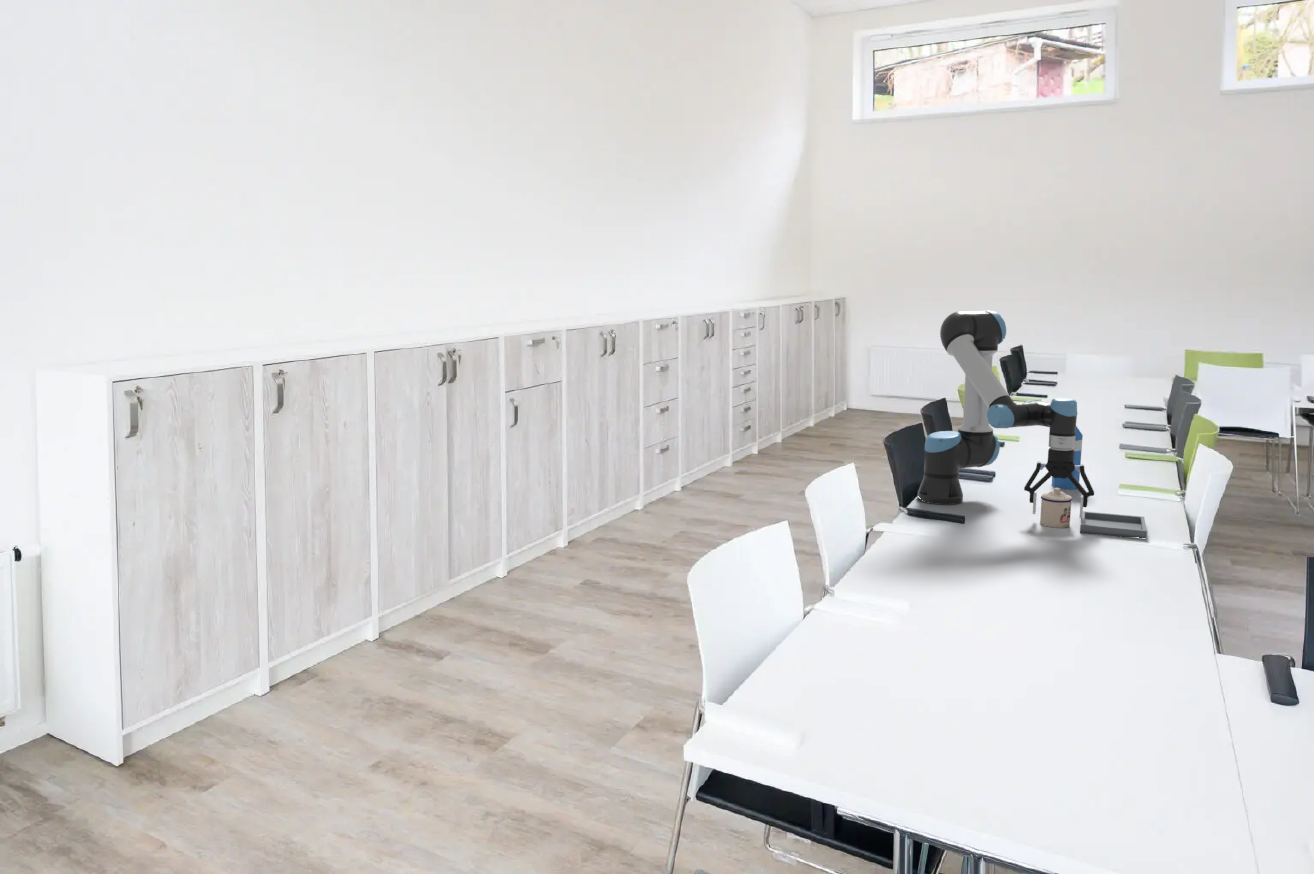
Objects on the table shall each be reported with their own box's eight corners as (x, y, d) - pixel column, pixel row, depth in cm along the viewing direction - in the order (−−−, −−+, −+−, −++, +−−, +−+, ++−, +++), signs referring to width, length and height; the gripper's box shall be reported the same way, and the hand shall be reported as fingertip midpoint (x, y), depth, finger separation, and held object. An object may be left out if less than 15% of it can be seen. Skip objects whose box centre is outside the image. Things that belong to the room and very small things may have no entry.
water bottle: (1081, 485, 360) (1085, 418, 355) (1076, 490, 352) (1081, 421, 348) (1054, 482, 365) (1058, 416, 360) (1049, 487, 357) (1053, 419, 352)
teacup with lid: (1065, 530, 300) (1067, 493, 298) (1035, 525, 306) (1037, 488, 304) (1077, 522, 309) (1079, 486, 307) (1047, 517, 315) (1050, 482, 313)
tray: (1079, 533, 297) (1080, 524, 296) (1080, 518, 313) (1081, 511, 312) (1146, 539, 289) (1146, 531, 289) (1143, 524, 306) (1144, 516, 305)
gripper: (1017, 447, 305) (1014, 514, 308) (1105, 453, 295) (1100, 521, 298) (1019, 443, 312) (1015, 508, 315) (1105, 449, 302) (1100, 515, 305)
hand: (1057, 515), depth 307 cm, fingers open, 13 cm apart
